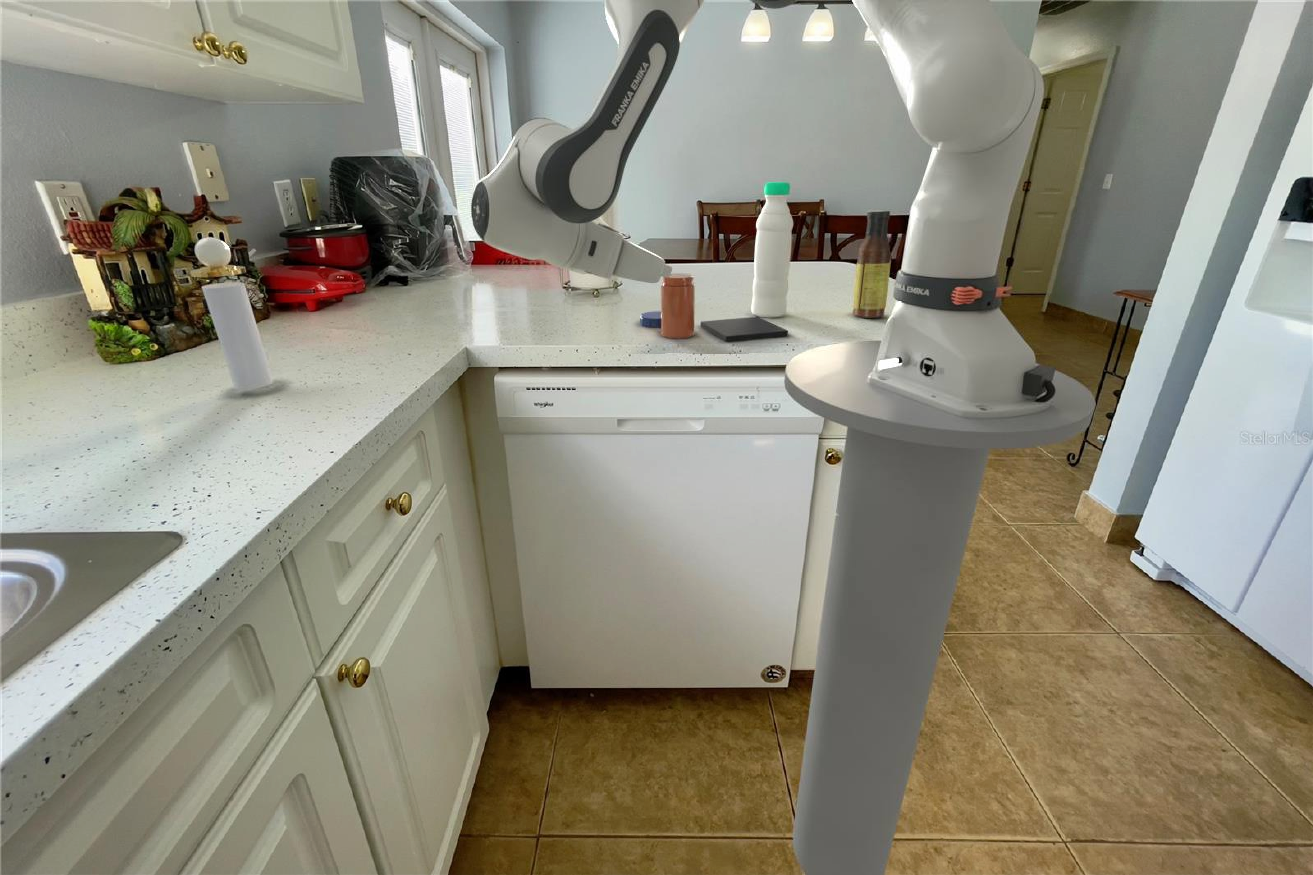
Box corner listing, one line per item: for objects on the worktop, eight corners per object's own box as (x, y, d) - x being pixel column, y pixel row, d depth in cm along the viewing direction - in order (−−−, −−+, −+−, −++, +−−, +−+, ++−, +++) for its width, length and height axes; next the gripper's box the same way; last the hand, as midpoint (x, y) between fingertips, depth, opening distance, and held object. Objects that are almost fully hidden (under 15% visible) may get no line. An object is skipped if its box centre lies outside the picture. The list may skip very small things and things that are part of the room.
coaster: (787, 336, 104) (788, 330, 103) (725, 342, 100) (726, 336, 100) (757, 321, 114) (757, 316, 114) (700, 326, 111) (700, 321, 111)
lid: (656, 318, 118) (656, 309, 117) (681, 323, 114) (681, 314, 113) (633, 324, 113) (633, 315, 113) (658, 329, 109) (658, 320, 109)
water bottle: (782, 319, 116) (793, 182, 106) (747, 316, 118) (755, 182, 108) (788, 312, 122) (799, 181, 112) (754, 309, 124) (762, 181, 114)
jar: (699, 336, 104) (700, 277, 100) (667, 339, 102) (667, 279, 98) (687, 329, 109) (688, 272, 105) (657, 331, 108) (656, 274, 103)
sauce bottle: (890, 316, 117) (907, 210, 109) (870, 320, 114) (886, 211, 106) (863, 310, 122) (877, 209, 114) (843, 314, 119) (856, 210, 110)
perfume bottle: (288, 386, 81) (245, 236, 73) (244, 399, 77) (193, 240, 69) (266, 380, 84) (221, 234, 76) (222, 392, 80) (170, 238, 71)
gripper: (545, 247, 95) (614, 267, 103) (607, 280, 80) (681, 300, 89) (555, 208, 93) (625, 232, 101) (621, 234, 78) (695, 259, 87)
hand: (652, 264), depth 95 cm, fingers open, 8 cm apart
